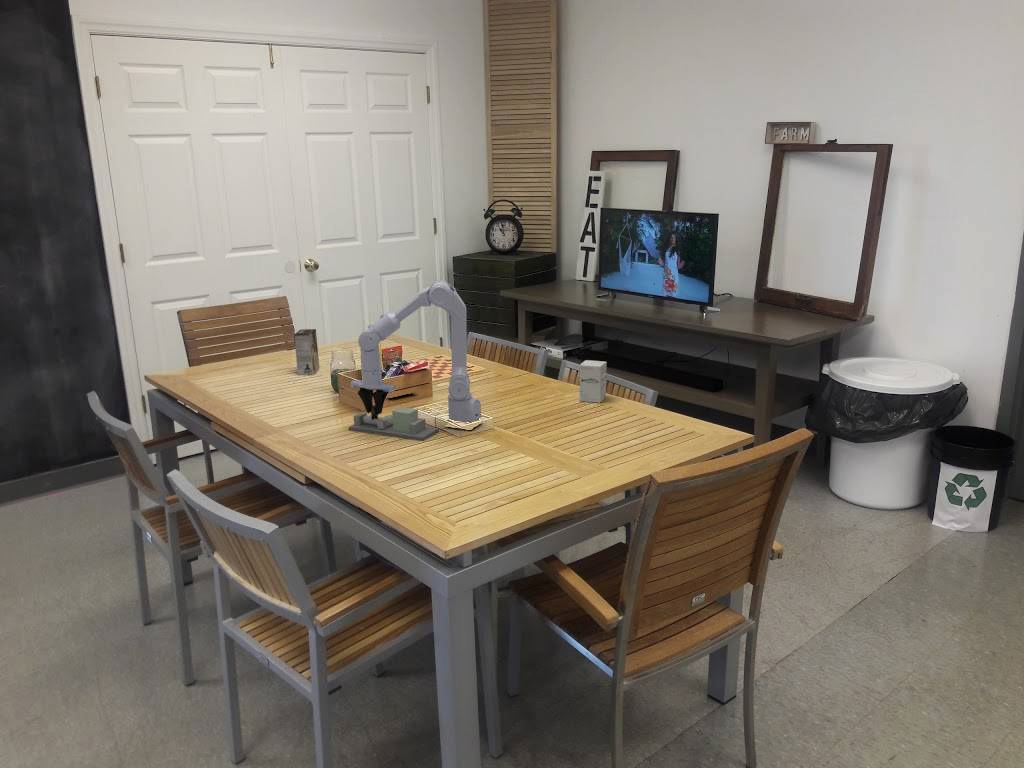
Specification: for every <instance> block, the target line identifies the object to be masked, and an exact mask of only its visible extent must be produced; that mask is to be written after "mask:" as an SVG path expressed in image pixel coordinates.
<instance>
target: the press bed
mask: <svg viewBox="0 0 1024 768" xmlns="http://www.w3.org/2000/svg"><path fill="white" fill-rule="evenodd" d="M365 415H367V416H368V413H367V412H363V411H361V412H359V413H356V414H355V415H353V424H352V425H350V426H348V431H351V432H352V431H353V432H358V433H359V432H360V433H365V434H373V435H380V436H385V437H386V436H387V437H393V438H399V439H407V440H412V441H413V440H414V441H419V442H420V441H421V442H422V441H423V442H424V441H425V440H427V439H429V438H430V437H432V436H434V435H435V434H437V433H439V427H432V426H426V424H427V423H426V418H421V417H418V419H417V420H415V421H413V422H412V423H410V424H409V433H407V432H400V431H393V424H392V425H390V426H388V427H387V428H385V429H379V428H378V425H376V424H369V423H362V417H363V416H365Z"/></svg>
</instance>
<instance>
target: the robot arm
mask: <svg viewBox="0 0 1024 768" xmlns="http://www.w3.org/2000/svg"><path fill="white" fill-rule="evenodd" d="M431 305H433V306H435V307H438V308H440V309H443V310H444V311H445V312H446V313H447V314H449V315H450V317H451V321H450V322H451V329H450V331H451V332H450V333H451V376H450V378H449V383H448V384H449V385H448V396H447V404H448V405H447V406H448V420H449V419H451V420H454V421H461V422H469V423H472V422H474V421H477V420H479V418H481V419H482V405H481V404H482V403H481V401H480V400H479V399H477V398H475V397H473V395H472V393H471V392H470V391H471V389H470V387H471V386H470V385H471V379H470V377H469V376H468V369H467V368H468V366H467V365H468V364H467V363H468V361H467V354H468V353H467V352H468V351H467V349H468V348H467V345H468V343H467V337H468V336H467V334H468V333H467V332H468V331H467V307H466V306H467V305H466V304H465V302H464V300H462V298H461V297H460V295H459V294H458V292H457V290H456V288H455V287H454V286H452V285H451V284H450V283H449V282H447V281H445V280H442V279H441V280H436V281H435V282H433V283H432V284H431V285H428V286H426V287H425V288H424V289H422V290H420V291H419V292H417V293H416V294H415V295H413V297H412V298H410V299H409V300H408V301H406V303H404V304H403V305H402V306H401V307H400V308H399V309H397V310H396V311H395V312H386V313H381V314H380V315H379V319H377V320H376V321H375V322H373V323H372V324H371V323H369V324H368V326H367V328H366V329H363V331H362V332H361V333H360V335H359V336H358V339H357V340H358V342H357V343H358V345H359V348H360V367H361V380H352V381H350V388H351V389H359V390H358V391H357V395H358V396H359V398H360V399H361V401H362V403H363V405H364V407H365V411H366V413H367V414H371V406H372V405H375V410H376V414H378V415H380V414H382V413H383V409H384V403H385V401H386V399H387V398H386V396H387V394H388V392H389V393H392V392H394V391H395V385H391V384H387V383H384V382H382V380H383V378H382V365H381V352H380V346H379V343H380V342H383V341H385V340H386V339H387V338H389V337H390V336H391V335H393V334H394V333H395V332H397V331H398V330H399V329H401V322H403V320H405V319H406V318H407V317H409V316H410V315H412V314H413V313H415V312H416V311H417V310H419V309H420V308H422V307H431ZM373 402H374V404H373Z"/></svg>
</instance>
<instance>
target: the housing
mask: <svg viewBox="0 0 1024 768" xmlns="http://www.w3.org/2000/svg"><path fill="white" fill-rule="evenodd" d="M391 415H392V416H393V431H400V432H407V433H409V424H410V423H412V422H413V421H415V420H417V419H419V411H418V408H411V407H403V406H400V407H397V408H396V409H394V410H392V414H391Z"/></svg>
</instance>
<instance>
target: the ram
mask: <svg viewBox="0 0 1024 768" xmlns="http://www.w3.org/2000/svg"><path fill="white" fill-rule="evenodd" d="M362 423H369V424H376V425H378V428H379V429H385V428H387V427H388V426H390V425H392V424H393V416H392V414H387V415H386V416H384V417H381V416H379V414H376V410H375V404H373V405H372V406H371V412H370V415H368V414H367V415H365V416H363V417H362Z"/></svg>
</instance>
